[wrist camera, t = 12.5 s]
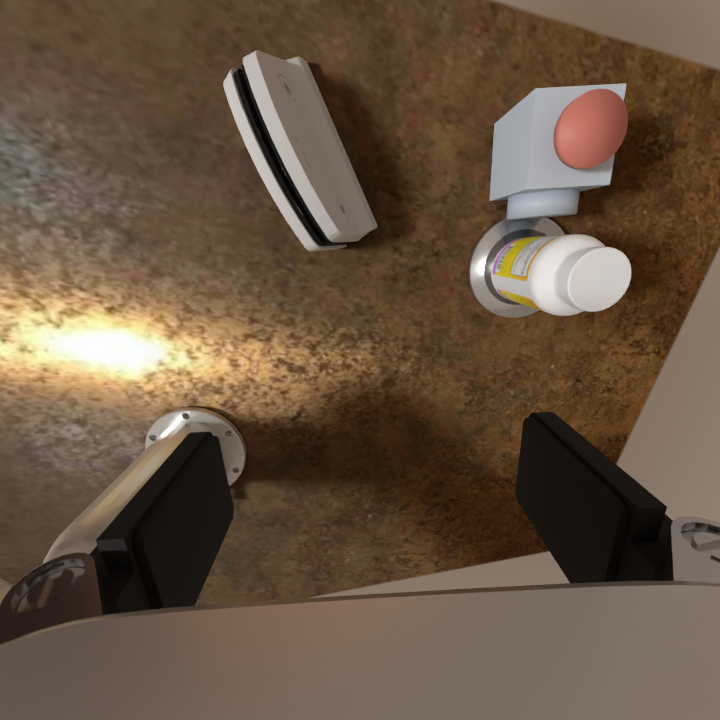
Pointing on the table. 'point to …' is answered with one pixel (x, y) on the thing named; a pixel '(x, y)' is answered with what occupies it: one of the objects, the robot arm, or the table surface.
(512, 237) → the gray metal plate
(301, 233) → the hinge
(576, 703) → the robot arm
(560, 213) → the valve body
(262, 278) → the table surface
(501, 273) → the supplement bottle
